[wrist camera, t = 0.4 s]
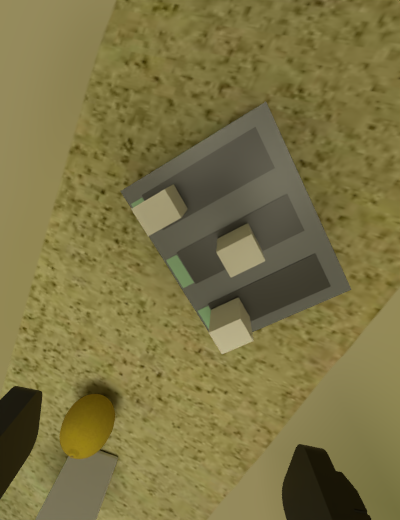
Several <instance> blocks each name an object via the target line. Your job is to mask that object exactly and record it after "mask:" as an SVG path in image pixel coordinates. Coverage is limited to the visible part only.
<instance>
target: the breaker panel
mask: <svg viewBox="0 0 400 520" xmlns="http://www.w3.org/2000/svg"><path fill="white" fill-rule="evenodd" d="M173 184H174V186H175V187H176V189H177V191H178V193H179V194H180V196H181V198H182V200H183V201H184V203H185V205H186V207H187V208H188V209H187V211H186V212H185V213H184V215H183V216H182V218H180V219H178V220H177V221H175V222H173V223H171V224H169V225H168V226H166V227H164V228H162V229H160V230H159V231H157V232H155V233H153V234H151V235H150V236H149V237H150V239H151V241H152V242H153V244H154V245H155V247H156V249H157V250H158V252H159V253H160V255H161V257H162V258H163V260H164V261H165V263H166V265H167V266H168V268H169V269H170V271H171V272H172V274H173V276H174V277H175V279H176V280H177V282H178V284H179V285H180V287H181V288H182V290H183V292H184V293H185V295H186V296H187V298H188V300H189V301H190V303H191V304H192V306H193V308H194V309H195V311H196V312H197V314H198V316H199V317H200V319H201V320H202V322H203V324H204V325H205V327H206V328H207V330H208V332H209V325H210V314H211V310H212V309H214V308H216V307H218V306H221V305H223V304H225V303H227V302H229V301H231V300H233V299H236V298H238V297H239V299H240V301H241V303H242V304H243V306H244V308H245V310H246V311H247V313H248V315H249V316H250V322H251V328H252V332H254V331H256V330H258V329H261V328H263V327H265V326H268V325H270V324H272V323H275V322H277V321H279V320H282V319H284V318H286V317H289V316H291V315H293V314H296V313H298V312H300V311H303V310H305V309H307V308H310V307H312V306H314V305H316V304H319V303H321V302H323V301H326V300H328V299H330V298H333V297H335V296H337V295H340V294H342V293H344V292H347V291H349V290H351V288H350V286H349V283H348V281H347V279H346V277H345V275H344V272H343V270H342V268H341V266H340V264H339V261H338V259H337V257H336V255H335V253H334V250H333V248H332V246H331V244H330V242H329V239H328V237H327V235H326V233H325V231H324V228H323V226H322V224H321V222H320V220H319V217H318V215H317V213H316V211H315V208H314V206H313V204H312V202H311V200H310V197H309V195H308V193H307V191H306V189H305V186H304V184H303V182H302V180H301V178H300V175H299V173H298V171H297V169H296V167H295V164H294V162H293V160H292V158H291V156H290V153H289V151H288V149H287V147H286V145H285V142H284V140H283V138H282V136H281V134H280V131H279V129H278V127H277V125H276V123H275V120H274V118H273V116H272V114H271V112H270V109H269V107H268V105H267V103H266V102H265V103H263V104H261V105H260V106H258V107H256V108H255V109H253V110H252V111H250V112H248V113H247V114H245V115H243V116H242V117H240V118H239V119H237V120H235V121H234V122H232V123H230V124H229V125H227V126H226V127H224V128H222V129H221V130H219V131H218V132H216V133H214V134H213V135H211V136H209V137H208V138H206V139H205V140H203V141H201V142H200V143H198V144H196V145H195V146H193V147H192V148H190V149H188V150H187V151H185V152H183V153H182V154H180V155H179V156H177V157H175V158H174V159H172V160H170V161H169V162H167V163H166V164H164V165H162V166H161V167H159V168H158V169H156V170H154V171H153V172H151V173H149V174H148V175H146V176H145V177H143V178H141V179H140V180H138V181H136V182H135V183H133V184H132V185H130V186H128V187H127V188H125V189H123V190H122V191H121V193H122V194H123V196H124V198H125V199H126V201H127V202H128V204H129V205H130V207H131V209H132V208H134V207H135V206H137V205H139V204H140V203H142V202H144V201H145V200H147V199H149V198H151V197H152V196H154V195H156V194H157V193H159V192H161V191H162V190H164V189H166V188H168V187H169V186H171V185H173ZM247 223H248V224H249V226H250V228H251V230H252V232H253V234H254V236H255V238H256V240H257V241H258V243H259V245H260V248H261V250H262V253H263V255H264V258H265V262H262V263H260V264H258V265H256V266H254V267H252V268H250V269H248V270H246V271H244V272H242V273H240V274H238V275H236V276H233V277H230V276H229V274H228V272H227V270H226V269H225V267H224V265H223V263H222V262H221V260H220V258H219V256H218V255H217V253H216V249H217V239H218V238H220V237H222V236H224V235H226V234H228V233H229V232H231V231H233V230H235V229H237V228H239V227H241V226H243V225H245V224H247Z"/></svg>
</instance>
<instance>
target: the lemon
mask: <svg viewBox="0 0 400 520" xmlns="http://www.w3.org/2000/svg"><path fill="white" fill-rule="evenodd" d="M114 421H115V411H114V407H113V405H112V403H111V402H110V400H109V399H108V398H106V397H105V396H103V395H100V394H90V395H87V396H84V397H82V398H81V399H79V400H78V401H77V402H75V403H74V405H73V406H72V407H71V408H70V410H69V411H68V413H67V414H66V416H65V418H64V420H63V423H62V427H61V431H60V444H61V447H62V449H63V451H64V452H65V453H66V454H67V455H68V456H70V457H71V458H74V459H84V458H88V457H90V456H92V455H94V454H95V453H97V452H98V451H99V450H100V449H101V448H102V447H103V445H104V444H105V443H106V441H107V439H108V438H109V436H110V434H111V432H112V429H113V426H114Z"/></svg>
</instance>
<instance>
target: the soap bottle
mask: <svg viewBox="0 0 400 520" xmlns="http://www.w3.org/2000/svg"><path fill="white" fill-rule="evenodd" d="M117 459H118V457H116V456H114V455H111V454H108V453H105V452H103V451H100V450H99V451H98V452H97V453H95V454H94V455H92V456H90V457H88V458H84V459H74V458H71V457H70V456H68V458H67V460H66V462H65V464H64V466H63V468H62V469H61V471H60V473H59V475H58V477H57V479H56V481H55V483H54V485H53V487H52V488H51V490H50V492H49V494H48V496H47V498H46V500H45V502H44V504H43V506H42V508H41V509H40V511H39V513H38V515H37V517H36V519H35V520H96V519H97V516H98V513H99V511H100V508H101V505H102V502H103V499H104V497H105V494H106V491H107V488H108V485H109V482H110V480H111V477H112V474H113V471H114V468H115V466H116V463H117Z"/></svg>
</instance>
